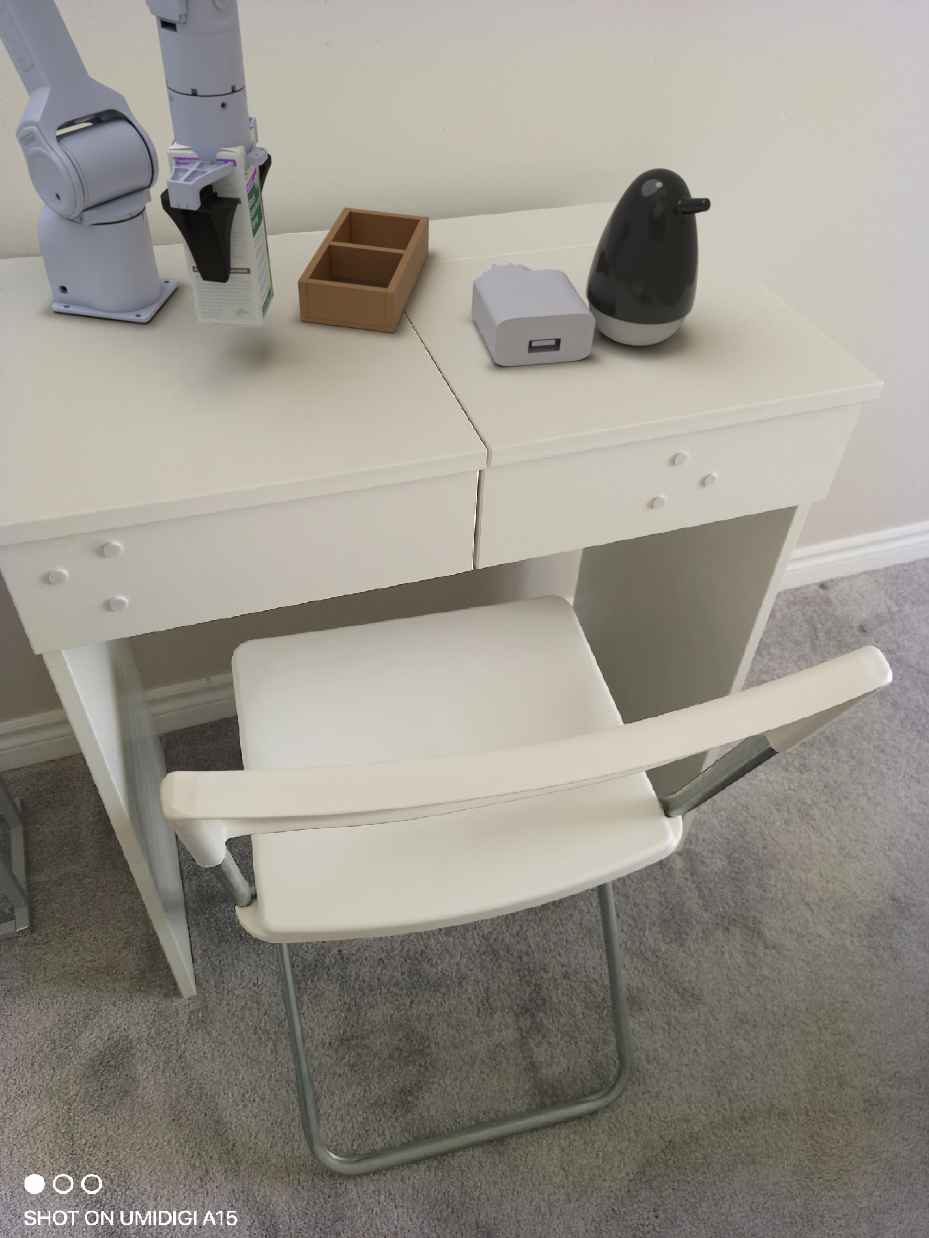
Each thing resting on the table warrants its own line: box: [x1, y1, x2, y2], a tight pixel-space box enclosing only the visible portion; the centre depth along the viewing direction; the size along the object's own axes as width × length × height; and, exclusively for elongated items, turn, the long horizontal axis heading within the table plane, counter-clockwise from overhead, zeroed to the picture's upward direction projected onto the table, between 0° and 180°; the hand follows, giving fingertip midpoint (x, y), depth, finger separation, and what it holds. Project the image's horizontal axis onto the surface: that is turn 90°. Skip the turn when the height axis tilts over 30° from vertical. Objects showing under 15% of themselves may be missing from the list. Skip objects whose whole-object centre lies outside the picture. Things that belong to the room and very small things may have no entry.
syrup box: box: [166, 126, 275, 328], centre depth 78 cm, size 6×6×14 cm
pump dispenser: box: [585, 167, 712, 347], centre depth 87 cm, size 10×10×15 cm
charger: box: [471, 262, 596, 367], centre depth 91 cm, size 5×9×15 cm
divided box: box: [297, 207, 430, 334], centre depth 95 cm, size 9×17×4 cm, turn 171°
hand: (229, 262), depth 80 cm, fingers closed on syrup box, 6 cm apart
